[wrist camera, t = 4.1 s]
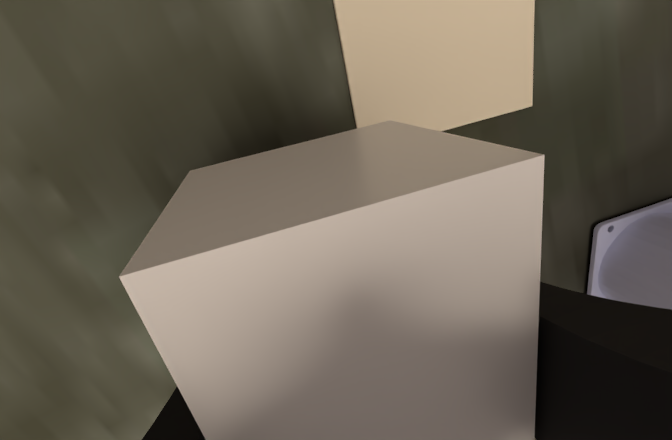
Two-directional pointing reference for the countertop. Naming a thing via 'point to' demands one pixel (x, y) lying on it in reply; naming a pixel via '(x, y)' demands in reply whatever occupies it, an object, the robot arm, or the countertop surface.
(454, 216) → the white rectangular prism
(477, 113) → the mark
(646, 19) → the countertop surface
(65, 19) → the countertop surface
